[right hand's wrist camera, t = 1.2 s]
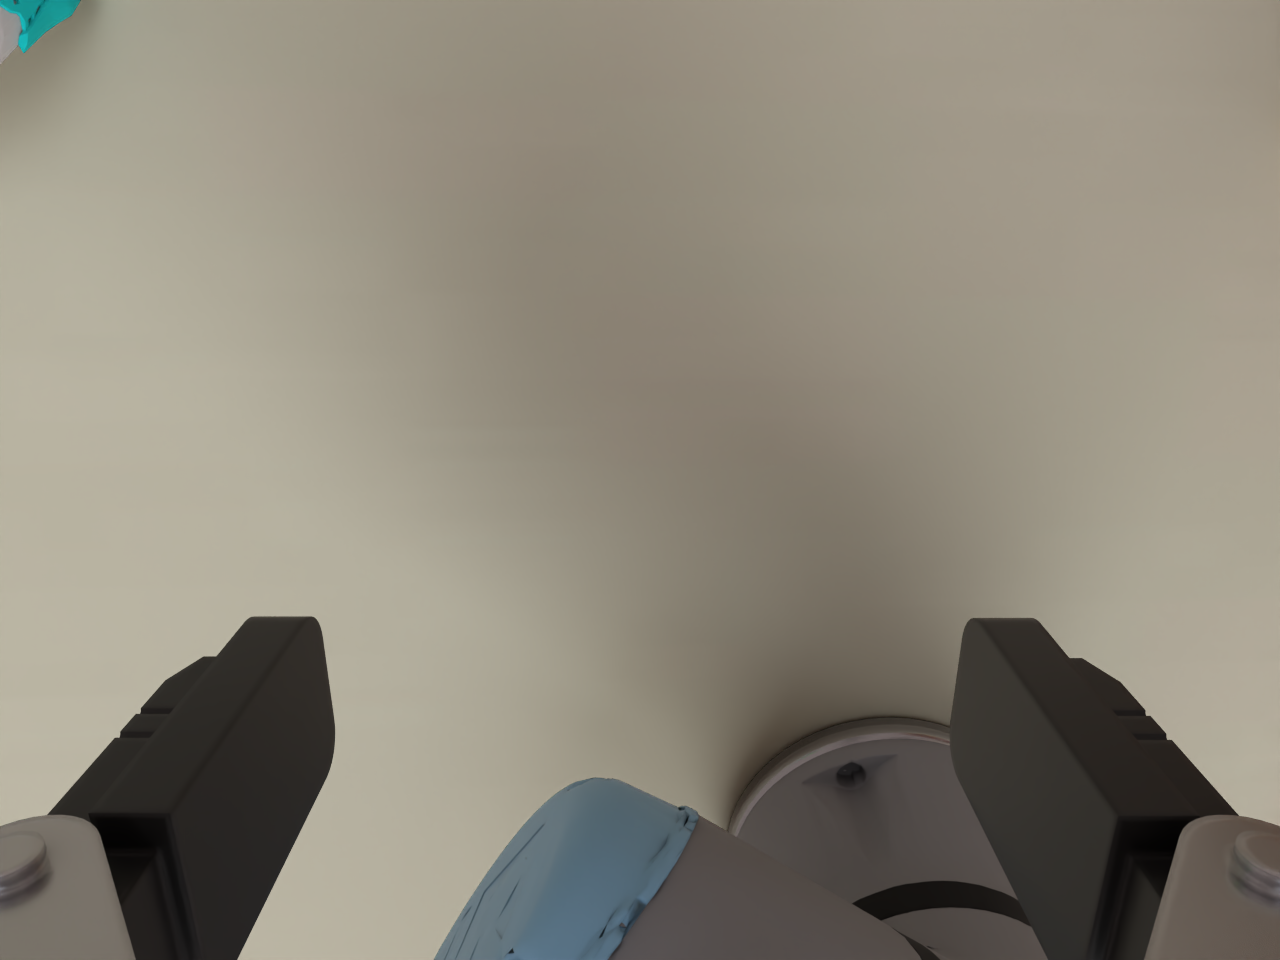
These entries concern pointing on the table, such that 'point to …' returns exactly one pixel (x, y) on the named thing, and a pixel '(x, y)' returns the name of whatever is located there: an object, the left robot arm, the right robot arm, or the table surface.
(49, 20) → the anatomical model
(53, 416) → the table surface
